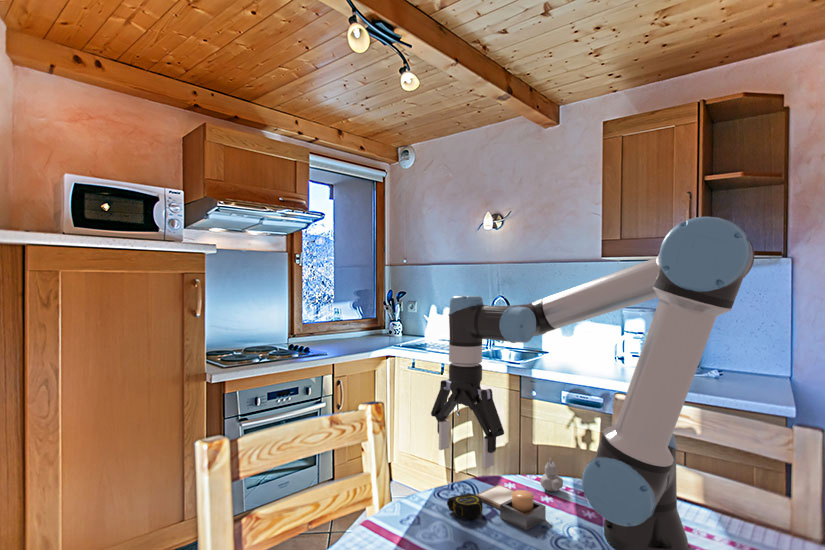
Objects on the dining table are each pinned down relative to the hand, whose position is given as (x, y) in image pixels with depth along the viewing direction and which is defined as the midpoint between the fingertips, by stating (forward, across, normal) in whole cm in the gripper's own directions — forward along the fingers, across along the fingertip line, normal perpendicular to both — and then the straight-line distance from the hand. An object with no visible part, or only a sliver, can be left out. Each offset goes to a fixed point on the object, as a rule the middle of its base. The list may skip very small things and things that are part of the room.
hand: (465, 457), depth 105 cm
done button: (+10, -10, -8) cm, 16 cm away
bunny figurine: (+13, -6, -25) cm, 29 cm away
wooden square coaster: (+13, -1, -12) cm, 18 cm away
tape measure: (+13, 0, 0) cm, 13 cm away
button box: (+13, -10, -8) cm, 18 cm away
